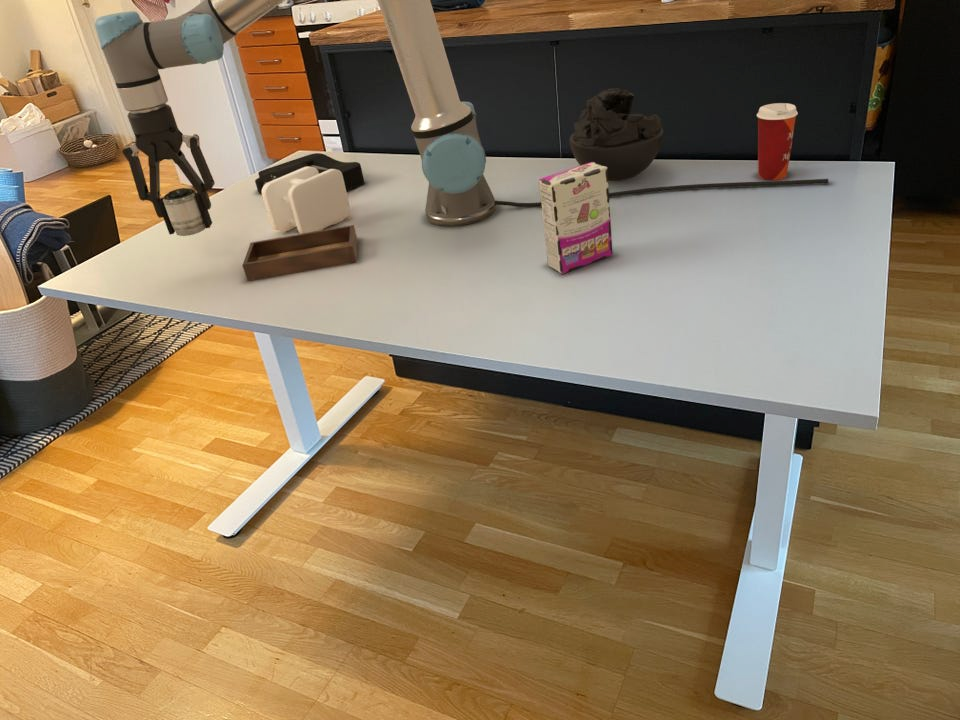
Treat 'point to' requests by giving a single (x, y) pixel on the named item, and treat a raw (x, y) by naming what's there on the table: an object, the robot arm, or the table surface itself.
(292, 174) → the cable organizer
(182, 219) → the camera lens
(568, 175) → the candy bar box
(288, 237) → the box
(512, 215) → the table surface
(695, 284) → the table surface
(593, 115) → the coal bowl
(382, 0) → the robot arm
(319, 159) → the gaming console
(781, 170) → the paper cup
